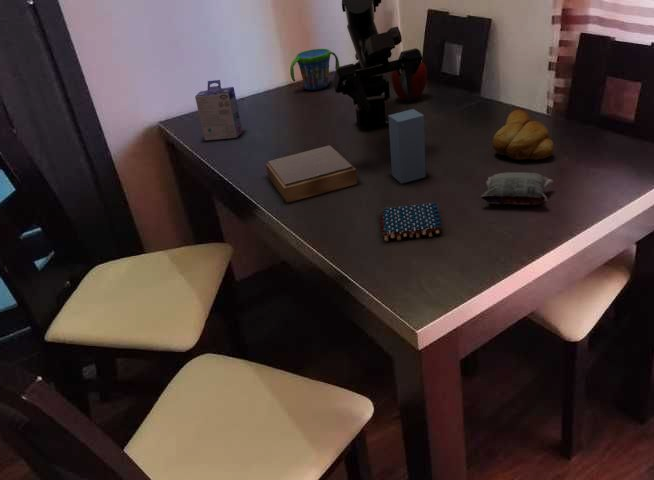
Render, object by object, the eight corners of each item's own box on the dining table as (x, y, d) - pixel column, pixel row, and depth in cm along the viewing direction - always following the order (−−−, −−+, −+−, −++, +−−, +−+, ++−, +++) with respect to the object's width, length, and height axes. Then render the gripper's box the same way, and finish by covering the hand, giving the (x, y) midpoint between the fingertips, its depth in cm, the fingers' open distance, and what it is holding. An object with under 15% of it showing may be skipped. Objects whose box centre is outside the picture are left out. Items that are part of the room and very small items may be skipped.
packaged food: (487, 188, 123) (488, 164, 119) (552, 190, 118) (555, 165, 115) (479, 209, 117) (480, 184, 114) (547, 212, 112) (549, 186, 109)
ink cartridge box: (243, 131, 174) (232, 77, 165) (238, 138, 170) (227, 83, 161) (210, 134, 176) (198, 81, 168) (204, 141, 172) (191, 87, 163)
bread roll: (563, 155, 129) (567, 116, 124) (527, 170, 126) (530, 131, 121) (517, 141, 139) (519, 104, 134) (483, 154, 136) (484, 117, 131)
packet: (415, 169, 135) (413, 108, 127) (425, 177, 131) (424, 115, 123) (392, 175, 134) (388, 115, 127) (401, 183, 131) (398, 121, 123)
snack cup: (336, 78, 201) (332, 44, 195) (345, 85, 193) (342, 50, 187) (289, 88, 200) (284, 55, 194) (297, 97, 192) (291, 62, 186)
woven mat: (380, 216, 120) (379, 206, 119) (436, 210, 119) (436, 200, 117) (382, 242, 112) (381, 232, 111) (442, 236, 110) (442, 226, 109)
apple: (392, 95, 178) (390, 58, 172) (426, 91, 176) (425, 53, 170) (392, 106, 170) (390, 68, 165) (428, 102, 169) (427, 63, 163)
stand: (333, 160, 147) (331, 143, 144) (357, 184, 134) (355, 166, 132) (268, 177, 145) (265, 161, 142) (286, 203, 132) (283, 185, 129)
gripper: (330, 25, 124) (355, 94, 122) (417, 5, 127) (443, 73, 125) (323, 59, 135) (346, 124, 133) (403, 40, 138) (426, 103, 136)
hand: (390, 106), depth 131 cm, fingers open, 9 cm apart
